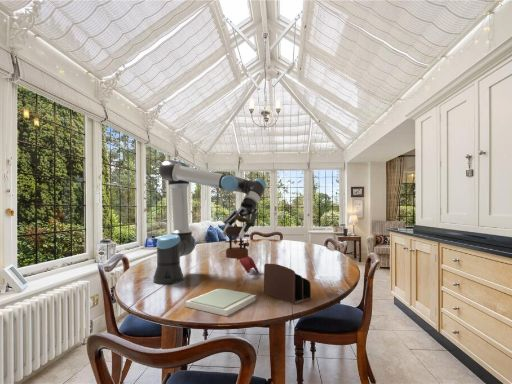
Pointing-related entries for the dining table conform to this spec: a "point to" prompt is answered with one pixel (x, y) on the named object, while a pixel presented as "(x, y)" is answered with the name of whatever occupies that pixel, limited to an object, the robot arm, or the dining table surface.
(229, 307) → the display stand
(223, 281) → the dining table surface
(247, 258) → the red winged figure
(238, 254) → the music box
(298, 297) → the letter holder
